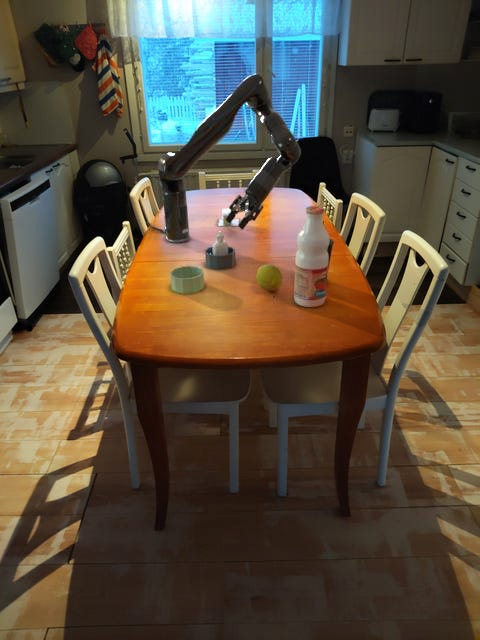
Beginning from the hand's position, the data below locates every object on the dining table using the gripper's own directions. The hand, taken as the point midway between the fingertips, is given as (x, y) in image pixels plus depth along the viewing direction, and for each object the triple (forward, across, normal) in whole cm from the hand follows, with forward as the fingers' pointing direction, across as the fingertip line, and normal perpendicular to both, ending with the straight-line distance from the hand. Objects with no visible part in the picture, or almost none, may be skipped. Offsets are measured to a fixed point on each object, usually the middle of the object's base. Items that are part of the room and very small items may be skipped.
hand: (233, 224), depth 161 cm
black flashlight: (0, -31, -19) cm, 37 cm away
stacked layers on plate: (-6, +41, -25) cm, 48 cm away
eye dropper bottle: (+14, 0, -6) cm, 15 cm away
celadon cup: (+26, -11, +8) cm, 30 cm away
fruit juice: (+8, -40, -11) cm, 43 cm away
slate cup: (+14, 0, -5) cm, 15 cm away
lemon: (+12, -27, -7) cm, 30 cm away
